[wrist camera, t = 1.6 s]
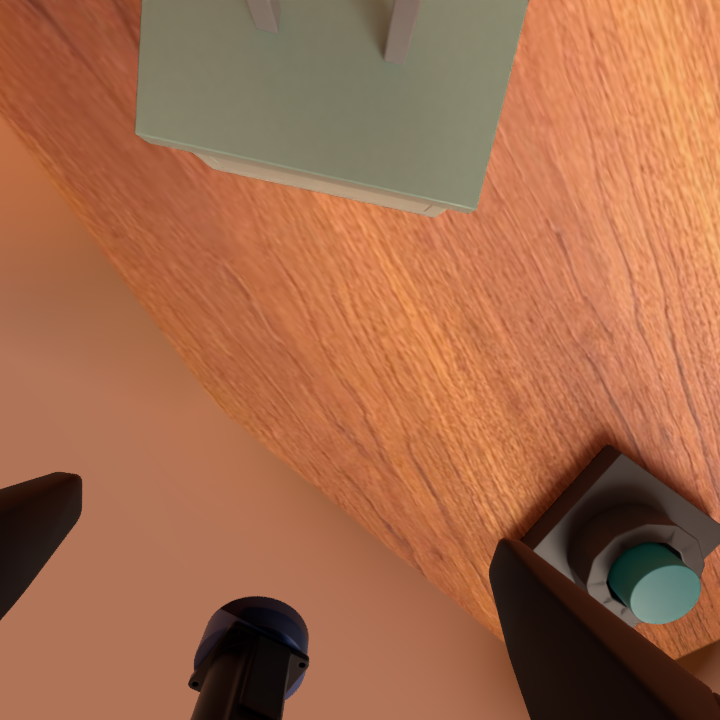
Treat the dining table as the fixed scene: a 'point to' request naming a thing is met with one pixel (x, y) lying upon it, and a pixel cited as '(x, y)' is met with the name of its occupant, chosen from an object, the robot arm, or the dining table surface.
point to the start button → (654, 583)
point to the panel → (618, 526)
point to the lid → (333, 88)
